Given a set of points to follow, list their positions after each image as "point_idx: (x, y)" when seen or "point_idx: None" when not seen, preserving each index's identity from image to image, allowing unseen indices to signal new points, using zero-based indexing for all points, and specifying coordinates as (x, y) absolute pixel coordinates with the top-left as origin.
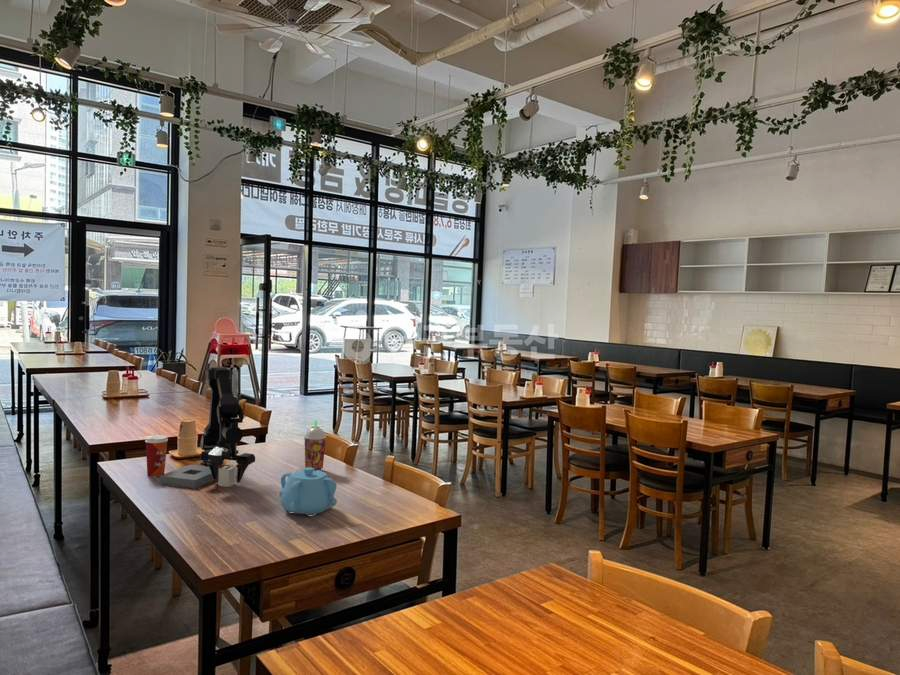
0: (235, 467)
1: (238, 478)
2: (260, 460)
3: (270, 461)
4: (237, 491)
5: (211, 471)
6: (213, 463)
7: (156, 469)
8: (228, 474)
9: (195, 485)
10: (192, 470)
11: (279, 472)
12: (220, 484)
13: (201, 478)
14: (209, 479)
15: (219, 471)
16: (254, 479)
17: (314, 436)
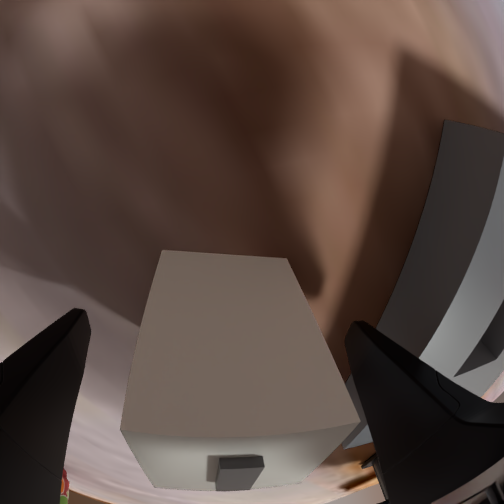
0: (155, 485)
1: (45, 332)
2: (256, 497)
3: (222, 499)
4: (11, 149)
5: (427, 366)
6: (454, 453)
7: None
8: (140, 358)
9: (463, 128)
10: (489, 358)
11: (111, 466)
12: (265, 265)
13: (472, 236)
14: (397, 321)
15: (332, 386)
16: (120, 418)
17: None
